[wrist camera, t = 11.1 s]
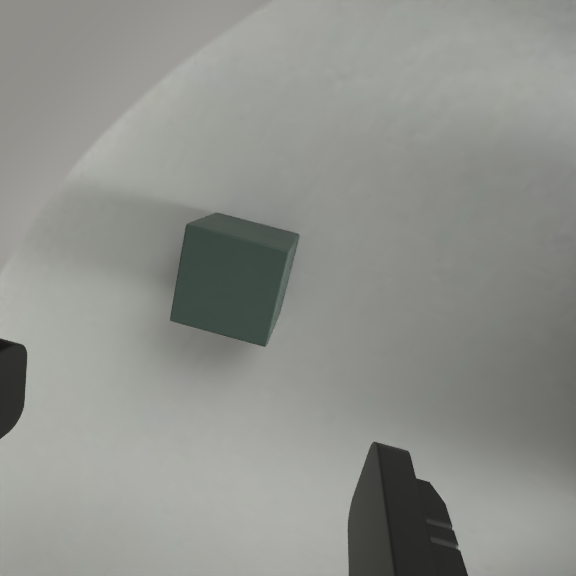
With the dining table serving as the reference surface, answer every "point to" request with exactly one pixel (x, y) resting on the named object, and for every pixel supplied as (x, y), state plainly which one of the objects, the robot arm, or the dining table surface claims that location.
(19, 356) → the robot arm
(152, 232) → the dining table surface
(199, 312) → the block
